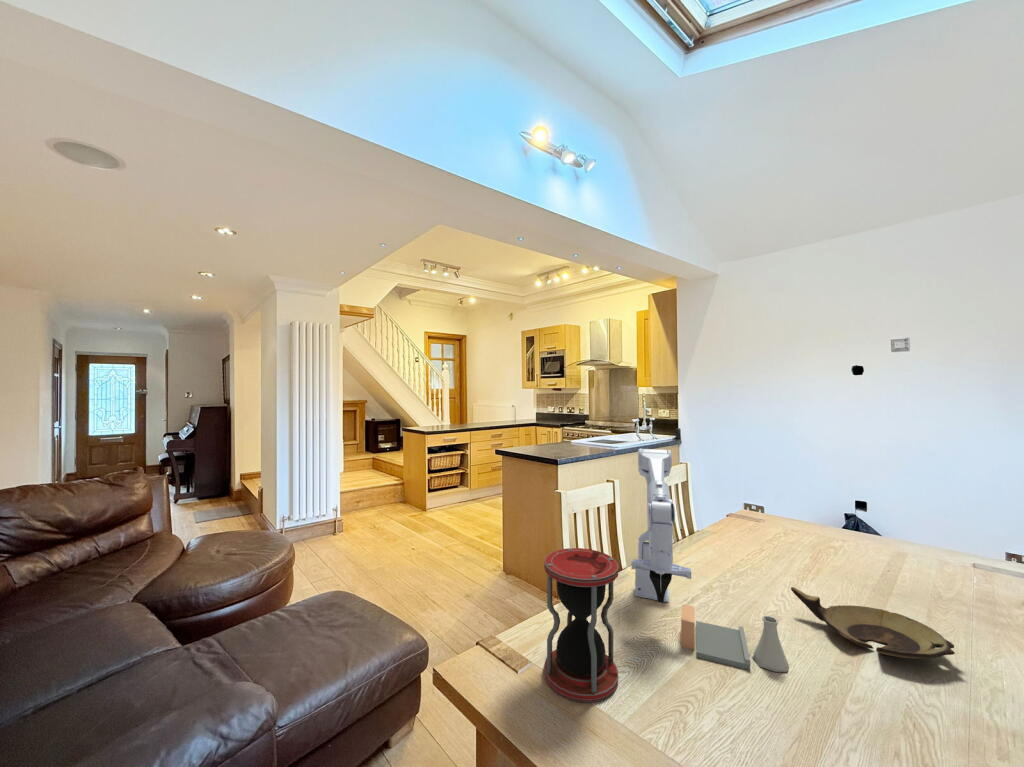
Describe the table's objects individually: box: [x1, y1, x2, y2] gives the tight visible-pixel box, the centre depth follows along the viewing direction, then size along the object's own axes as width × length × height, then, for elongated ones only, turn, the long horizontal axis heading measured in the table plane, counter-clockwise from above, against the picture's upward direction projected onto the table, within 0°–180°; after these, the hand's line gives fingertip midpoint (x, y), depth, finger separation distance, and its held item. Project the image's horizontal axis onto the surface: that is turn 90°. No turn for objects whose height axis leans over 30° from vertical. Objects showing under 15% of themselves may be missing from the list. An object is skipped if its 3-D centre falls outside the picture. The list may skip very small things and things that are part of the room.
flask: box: [752, 615, 790, 673], centre depth 95 cm, size 7×7×10 cm
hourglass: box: [543, 547, 619, 703], centre depth 91 cm, size 16×16×25 cm
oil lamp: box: [790, 586, 956, 660], centre depth 104 cm, size 22×30×8 cm
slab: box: [680, 603, 696, 650], centre depth 104 cm, size 3×8×6 cm, turn 156°
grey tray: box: [695, 620, 751, 671], centre depth 101 cm, size 11×14×2 cm
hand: (660, 600), depth 106 cm, fingers closed
